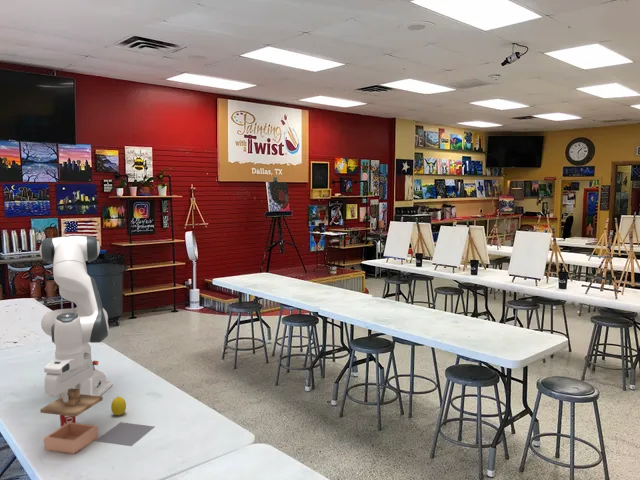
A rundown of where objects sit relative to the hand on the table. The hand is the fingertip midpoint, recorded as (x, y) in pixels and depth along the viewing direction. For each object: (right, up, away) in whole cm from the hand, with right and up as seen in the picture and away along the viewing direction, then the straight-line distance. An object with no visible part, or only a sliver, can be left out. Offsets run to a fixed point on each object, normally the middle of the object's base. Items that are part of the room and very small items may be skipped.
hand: (71, 398), depth 179 cm
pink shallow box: (-1, -17, +1) cm, 17 cm away
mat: (+16, -16, +9) cm, 24 cm away
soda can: (-7, -16, +12) cm, 21 cm away
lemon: (+7, -15, +24) cm, 29 cm away
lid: (0, -3, 0) cm, 3 cm away
